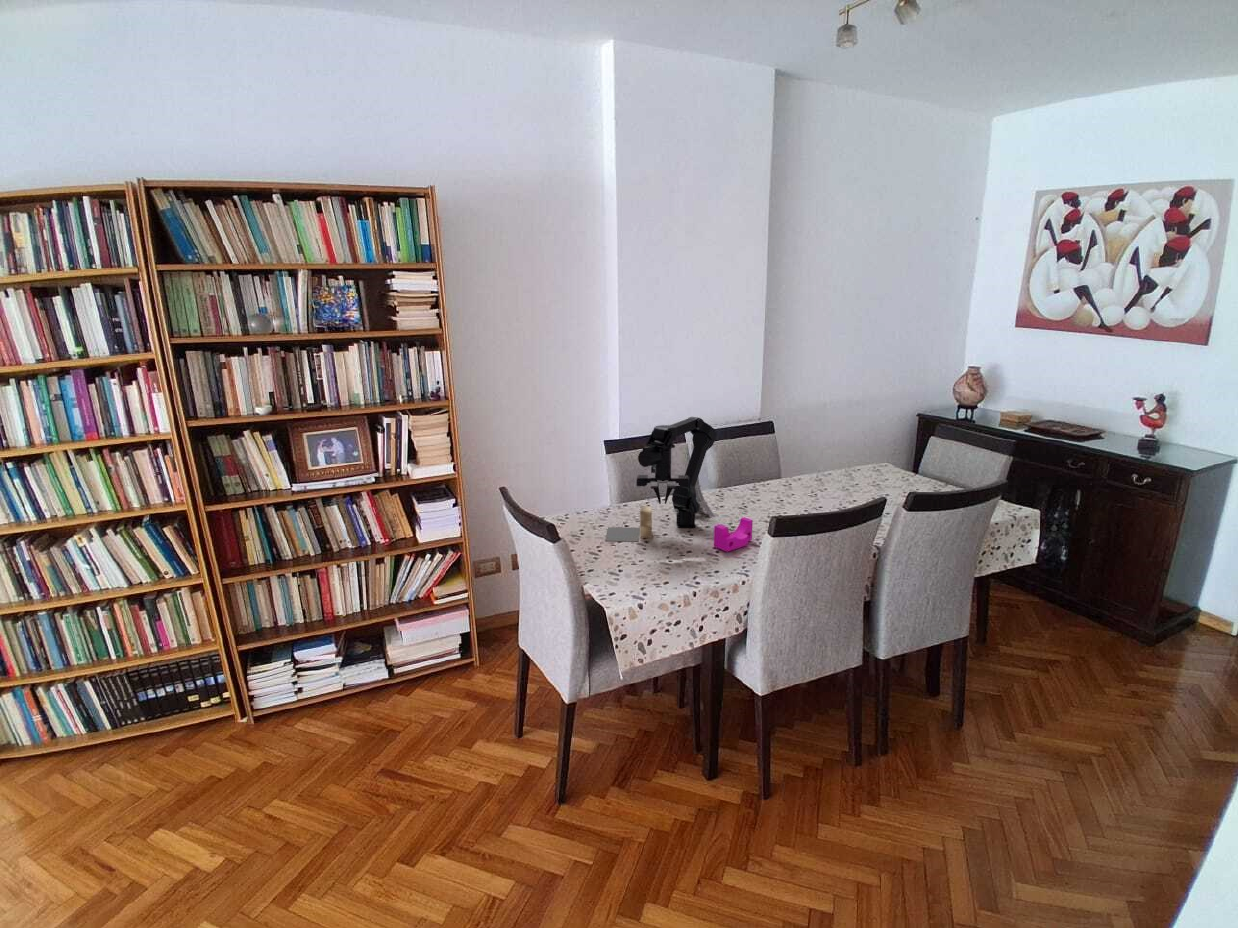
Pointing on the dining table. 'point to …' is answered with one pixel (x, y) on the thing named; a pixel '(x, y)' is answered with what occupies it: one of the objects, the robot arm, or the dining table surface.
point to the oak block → (646, 522)
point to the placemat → (622, 534)
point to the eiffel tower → (701, 498)
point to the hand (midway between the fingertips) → (662, 503)
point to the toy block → (733, 535)
